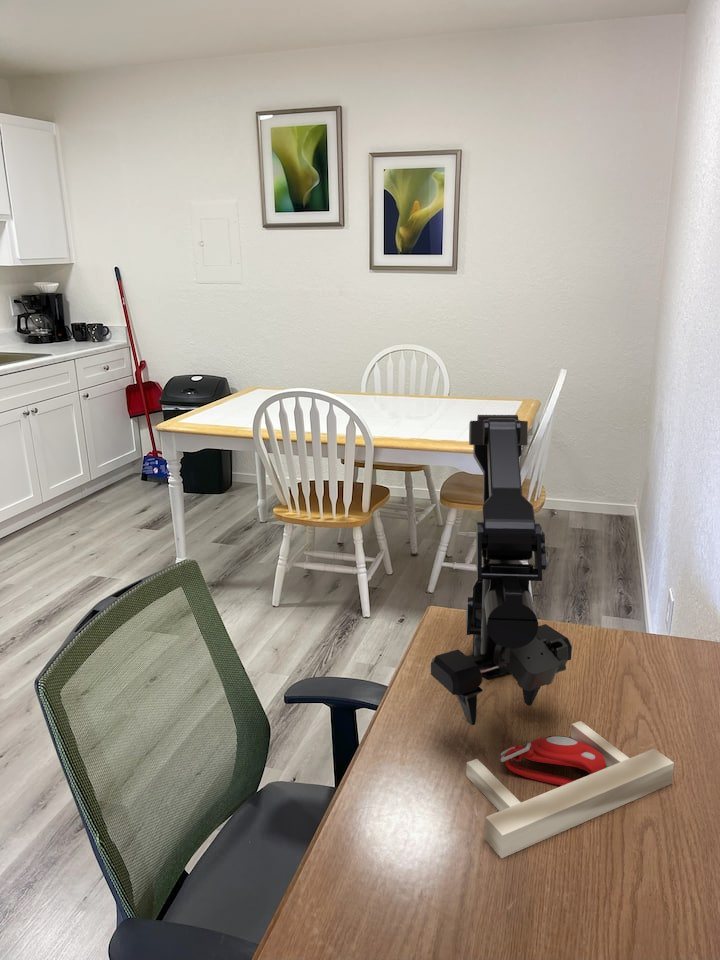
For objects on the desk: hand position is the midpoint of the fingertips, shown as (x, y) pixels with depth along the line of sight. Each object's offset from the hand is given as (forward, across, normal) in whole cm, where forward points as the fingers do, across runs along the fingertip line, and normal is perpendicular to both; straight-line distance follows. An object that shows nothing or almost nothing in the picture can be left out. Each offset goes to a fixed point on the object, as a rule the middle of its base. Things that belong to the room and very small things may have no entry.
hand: (500, 713), depth 98 cm
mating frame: (+3, -1, -12) cm, 12 cm away
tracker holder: (+3, +2, -8) cm, 9 cm away
